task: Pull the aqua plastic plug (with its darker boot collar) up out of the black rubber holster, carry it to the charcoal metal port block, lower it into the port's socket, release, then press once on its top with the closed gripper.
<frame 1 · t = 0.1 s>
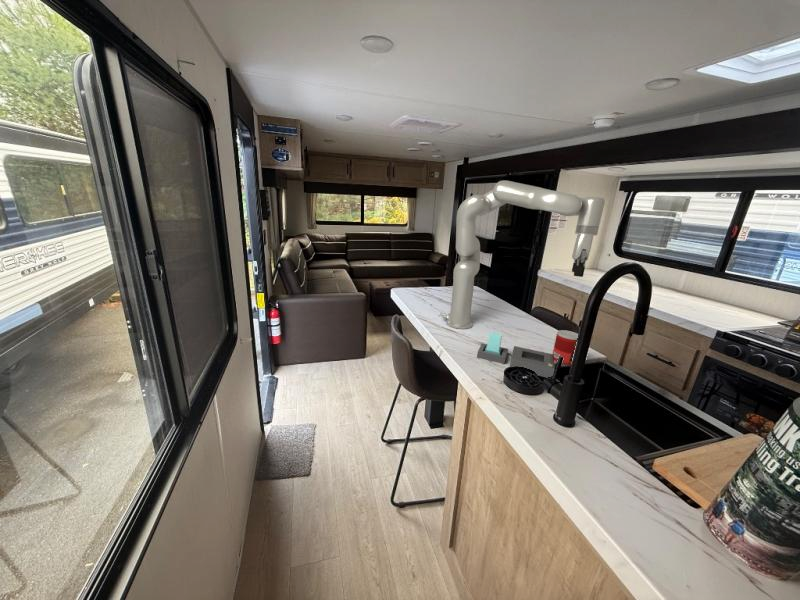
hand: (577, 274, 123), 31 cm above the worktop, tool pointing down, fingers open, 9 cm apart
plug: (493, 345, 117), in the holster
port: (531, 366, 112), on the worktop
holster: (492, 356, 118), on the worktop
canned food: (562, 360, 118), on the worktop
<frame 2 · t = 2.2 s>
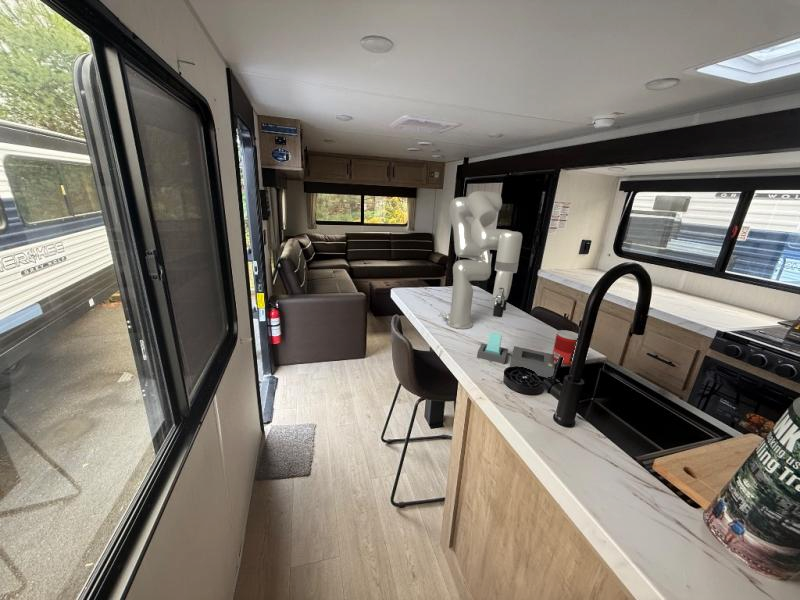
hand: (499, 313, 113), 18 cm above the worktop, tool pointing down, fingers open, 9 cm apart
nothing on the worktop moved.
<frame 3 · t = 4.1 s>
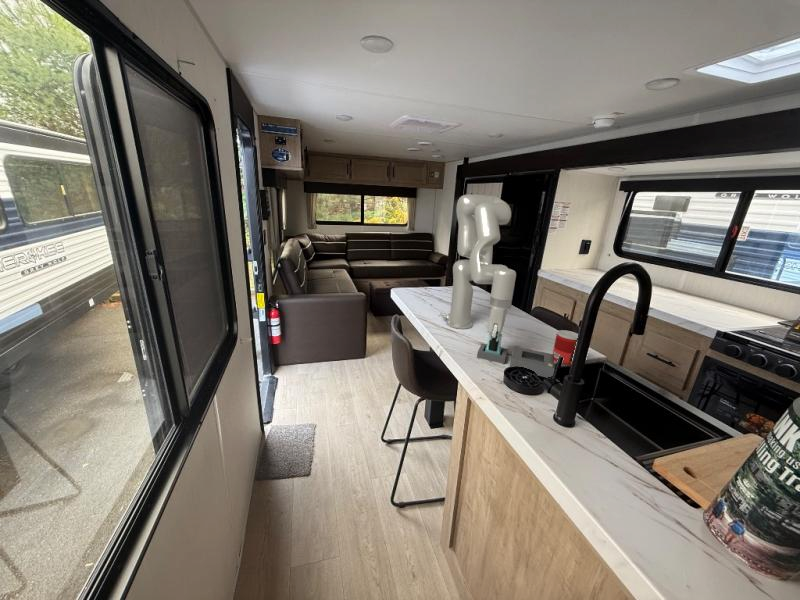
hand: (493, 347, 117), 3 cm above the worktop, tool pointing down, fingers closed on plug, 3 cm apart
plug: (493, 345, 117), in the holster, touching gripper
everything else where it was.
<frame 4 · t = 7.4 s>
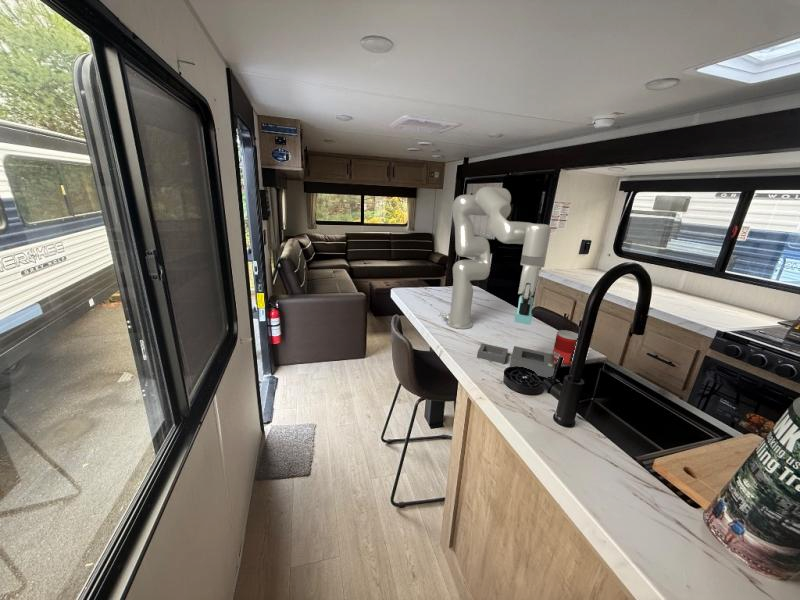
hand: (524, 312, 109), 20 cm above the worktop, tool pointing down, fingers closed on plug, 3 cm apart
plug: (524, 309, 108), point 21 cm above the worktop, touching gripper
everything else where it was.
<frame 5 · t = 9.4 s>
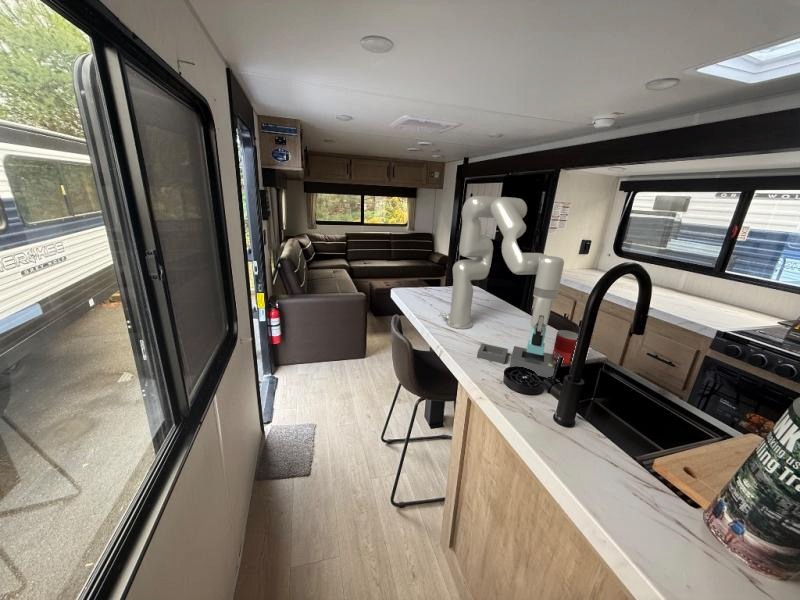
hand: (536, 342, 109), 10 cm above the worktop, tool pointing down, fingers closed on plug, 3 cm apart
plug: (536, 339, 109), point 11 cm above the worktop, touching gripper
everything else where it was.
when the fingers open (5 cm above the worktop, at t = 10.7 s): plug drops 1 cm, resting in port.
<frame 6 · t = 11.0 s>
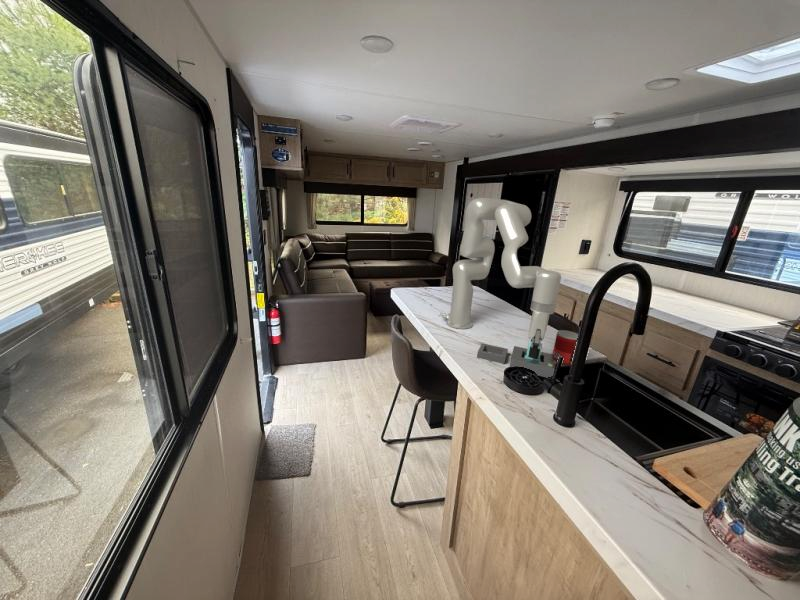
hand: (533, 353, 110), 5 cm above the worktop, tool pointing down, fingers open, 6 cm apart
plug: (533, 355, 111), resting in port
everything else where it was.
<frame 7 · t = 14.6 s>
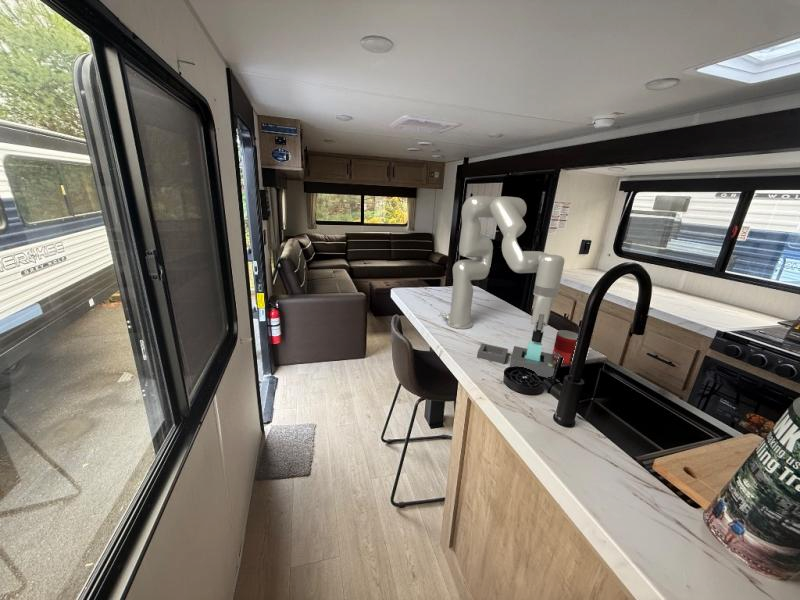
hand: (536, 341, 109), 10 cm above the worktop, tool pointing down, fingers closed
nothing on the worktop moved.
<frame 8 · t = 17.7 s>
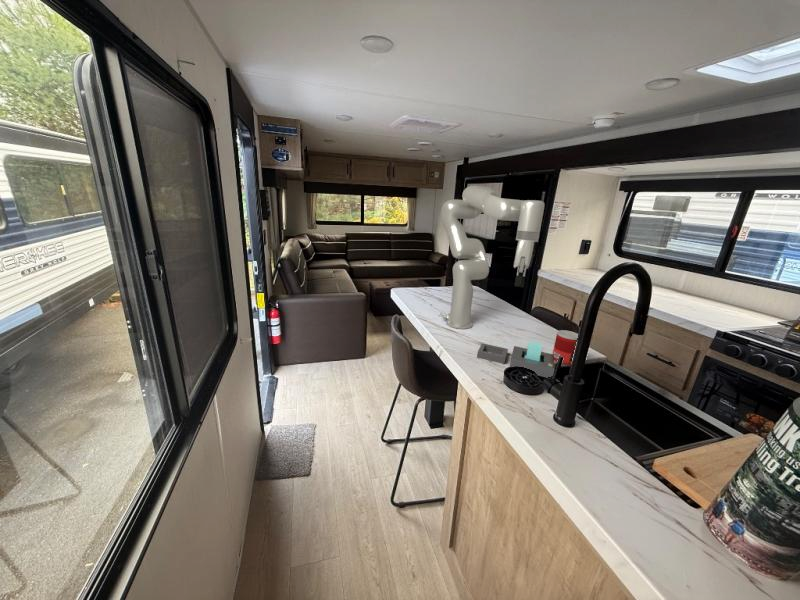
hand: (518, 286, 115), 27 cm above the worktop, tool pointing down, fingers closed
nothing on the worktop moved.
at the end: plug 0.1 cm off-centre on the port, point 4.4 cm above the port's base; plug tilted 0°; the gripper is holding nothing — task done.
